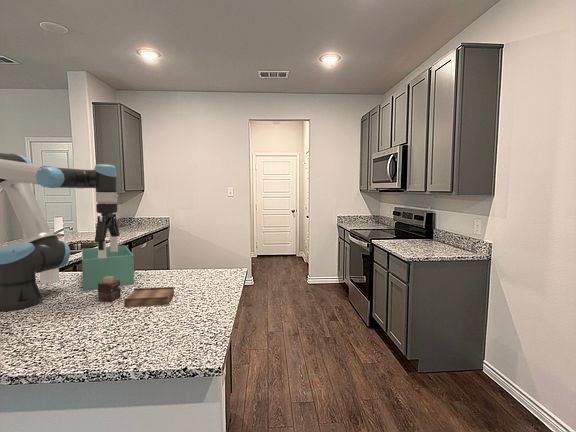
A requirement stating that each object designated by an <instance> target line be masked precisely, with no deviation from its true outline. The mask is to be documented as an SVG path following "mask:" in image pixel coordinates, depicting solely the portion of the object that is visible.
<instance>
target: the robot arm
mask: <svg viewBox="0 0 576 432" xmlns="http://www.w3.org/2000/svg"><path fill="white" fill-rule="evenodd" d="M117 180H118V175H117V168H116V166H115V165H113V164H103V163H102V164H101V163H99V164H94V169H83V168H82V169H79V168H78V169H77V168H67V167H57V166H49V165H44V164H43V165H42V164H36V163H32V162H31V160H29V158H27V156H23V155H20V154H16V153H4V152H0V189H1V190H5V193H6V195H7V198H8V200H9V202H10V204H11V206H12V208H13V210H14V212H15V215H16V217H17V219H18V221H19V224H20V225H21V228H22V231H23V233H24V235H25V238H26V240H27V241H26V242H20V243H14V244H9V245H5V246H2V247H0V312H3V311H4V312H5V311H16V310H21V309H25V308H30V307H34V306H35V305H38V304H41V303H42V302H43V294H42V292H41V289H40V288H39V285H38V283H37V280H36V279H37V278H36V277H37V275H36V274H40V272H44V271H48V270H51V269H56V268H59V269H60V268H62V267H63V266H65V265H66V264H67V263H68V262H69V258H70V257H71V248H70V246H69V244H68V243H67V242H65V241H63V240H60V239H59V237H58V236H57V234H54V233H52V232H51V229H50V228H49V225H48V223H47V221H46V218H45V216H44V214H43V212H42V210H41V207H40V205H39V203H38V201H37V199H36V196H35V194H34V192H33V189H32V187H31V184H32V185H39V186H41V187H43V188H49V189H59V188H61V189H64V188H66V189H95V203H96V204H95V206H96V213H97V214H100V215H98V216H97V223H96V228H95V229H96V230H95V234H94V235H95V237H94V242H95V243H97V248H98V258H106V247H107V240H106V238H107V232H108V231H109V234H110V236H109V247H110V252H118V246H119V245H118V237H120V235H121V234H120V230H119V226H118V221H117V214H116V213H118V203H117V202H118V197H119V194H118V191H117V184H118V183H117ZM105 240H106V241H105Z"/></svg>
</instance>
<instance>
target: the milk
mask: <svg viewBox="0 0 576 432" xmlns="http://www.w3.org/2000/svg"><path fill="white" fill-rule="evenodd" d="M58 281H60V267H59V268H56V269H51V270H48V271H44V272H40V273H39V283H40V285H43V284H44V285H45V284H56V283H57V282H58Z"/></svg>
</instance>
